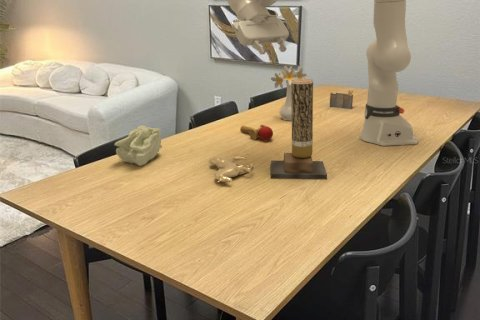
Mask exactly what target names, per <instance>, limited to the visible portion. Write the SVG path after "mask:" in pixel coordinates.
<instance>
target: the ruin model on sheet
mask: <svg viewBox="0 0 480 320" xmlns="http://www.w3.org/2000/svg"><path fill="white" fill-rule="evenodd" d="M353 93H354V90H348V92H347V93H341V92H335V93H333V92H330V93H329V94H330V95H329V108H338V109H346V110H351V109H353V104H354V103H353V101H354V100H353V99H354V94H353Z"/></svg>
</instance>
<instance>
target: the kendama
mask: <svg viewBox="0 0 480 320" xmlns="http://www.w3.org/2000/svg"><path fill="white" fill-rule="evenodd" d="M239 129H240V132H241V133H247V134H248V135H249V137H250V138H251V140H254V141H255V140H258V138H259V139H260V140H262V141H263V142H269V141H271V139H272V138H273V136H274V131H273V129H272V128H271V127H269V126H267V125H265V124H261V125H260V126H259V127H258V128H253V127H251V126H250V127H249V126H247V125H241V126H240V128H239Z"/></svg>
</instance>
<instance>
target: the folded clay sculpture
mask: <svg viewBox="0 0 480 320" xmlns="http://www.w3.org/2000/svg"><path fill="white" fill-rule="evenodd" d="M161 132H162V131H161V129H160V128H157V127H154V128H152V127H148V126H145V125H144V124H142V125H139V126H138V127H137V128H135V129H132V130H130V131H129V133H128V135H127V136H126V137H125V138H122V139H119V140H118V141H116V142H115V143H114V146H116V149H115V153H116V155H117V156H118V158H119V159H120V160H121V161H122V162H123V163H130V164H135V165H137V166H139V167H142V166H145V165H146V164H147V163H148V162H149V161H150V160H153V158H154V157H156V156H157V155H158V153H159V152H160V149H161V148H162V147H163V146H162V138H161V137H162V136H161Z"/></svg>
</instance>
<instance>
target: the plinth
mask: <svg viewBox="0 0 480 320" xmlns="http://www.w3.org/2000/svg"><path fill="white" fill-rule="evenodd" d="M270 179H286V180H288V179H294V180H295V179H296V180H297V179H300V180H305V179H306V180H327V179H328V173H327V170H326V167H325V163H324V160H313V157H312V155H311V156H310V157H307V158H297V157H294V156H293V155H292V152H284V153H283V160H275V159H274V160H270Z"/></svg>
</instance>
